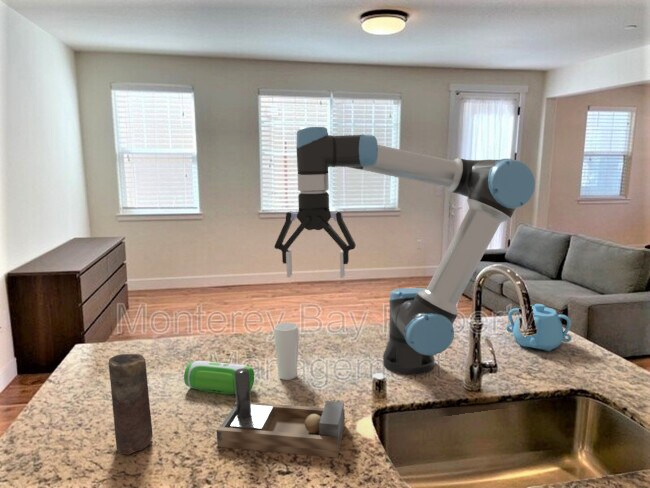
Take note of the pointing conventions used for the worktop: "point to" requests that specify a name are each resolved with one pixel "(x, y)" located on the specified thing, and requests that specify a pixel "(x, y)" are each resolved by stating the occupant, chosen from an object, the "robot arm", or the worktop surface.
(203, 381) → the speaker
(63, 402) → the worktop surface
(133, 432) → the candle
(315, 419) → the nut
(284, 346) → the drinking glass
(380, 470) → the worktop surface
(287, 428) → the base
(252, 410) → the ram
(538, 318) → the decorative pot
